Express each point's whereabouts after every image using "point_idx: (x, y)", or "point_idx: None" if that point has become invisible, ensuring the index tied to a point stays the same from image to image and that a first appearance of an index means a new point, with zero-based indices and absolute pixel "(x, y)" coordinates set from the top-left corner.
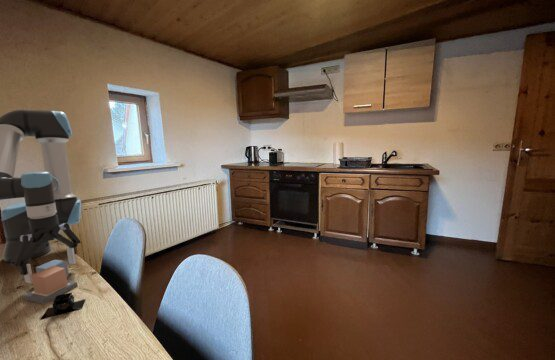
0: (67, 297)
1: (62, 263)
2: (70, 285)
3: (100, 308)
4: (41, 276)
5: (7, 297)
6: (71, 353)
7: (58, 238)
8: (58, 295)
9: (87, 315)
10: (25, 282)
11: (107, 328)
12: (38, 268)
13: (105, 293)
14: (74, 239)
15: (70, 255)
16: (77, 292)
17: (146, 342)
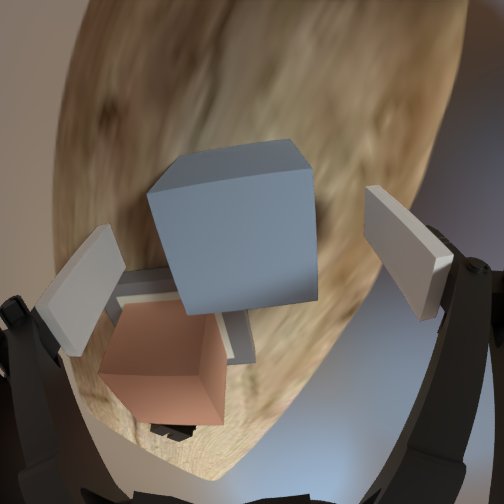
0: (177, 440)
1: (287, 301)
2: (229, 364)
3: (220, 437)
4: (132, 411)
5: (59, 191)
6: (152, 452)
7: (373, 485)
8: (164, 427)
9: (196, 435)
10: (98, 226)
11: (200, 457)
12: (157, 223)
13: (261, 419)
14: (492, 365)
15: (392, 252)
16: (229, 378)
17: (213, 476)
